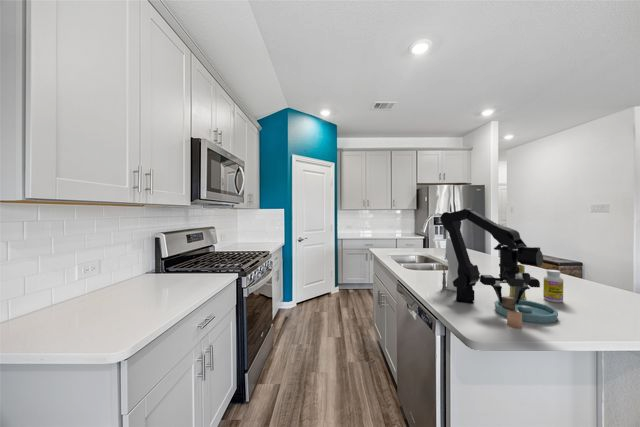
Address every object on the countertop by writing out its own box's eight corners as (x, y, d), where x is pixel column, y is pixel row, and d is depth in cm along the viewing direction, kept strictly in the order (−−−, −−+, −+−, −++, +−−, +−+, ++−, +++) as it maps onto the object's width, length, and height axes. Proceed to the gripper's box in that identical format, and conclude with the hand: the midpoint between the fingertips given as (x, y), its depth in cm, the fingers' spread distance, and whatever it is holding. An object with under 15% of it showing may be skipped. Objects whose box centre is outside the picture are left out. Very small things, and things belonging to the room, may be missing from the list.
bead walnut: (500, 307, 114) (500, 296, 114) (512, 308, 113) (512, 296, 113) (504, 311, 110) (504, 299, 110) (517, 311, 109) (516, 299, 109)
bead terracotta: (508, 327, 98) (508, 313, 98) (506, 322, 102) (506, 309, 102) (523, 329, 96) (523, 315, 96) (520, 324, 100) (520, 311, 100)
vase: (528, 299, 127) (528, 266, 127) (512, 298, 128) (512, 266, 128) (521, 295, 133) (521, 264, 133) (506, 294, 134) (506, 263, 134)
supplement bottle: (546, 301, 124) (546, 271, 124) (541, 297, 130) (541, 268, 130) (566, 303, 121) (566, 272, 121) (559, 299, 127) (559, 269, 127)
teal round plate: (499, 318, 105) (499, 311, 105) (491, 302, 123) (491, 297, 123) (566, 326, 98) (566, 319, 98) (547, 308, 115) (547, 302, 115)
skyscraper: (448, 286, 151) (448, 232, 150) (465, 289, 145) (464, 233, 144) (441, 289, 145) (441, 233, 144) (458, 293, 139) (458, 234, 138)
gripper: (488, 265, 106) (488, 308, 106) (548, 267, 101) (547, 312, 102) (479, 260, 117) (479, 299, 117) (532, 262, 112) (532, 302, 112)
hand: (508, 303), depth 112 cm, fingers open, 5 cm apart
